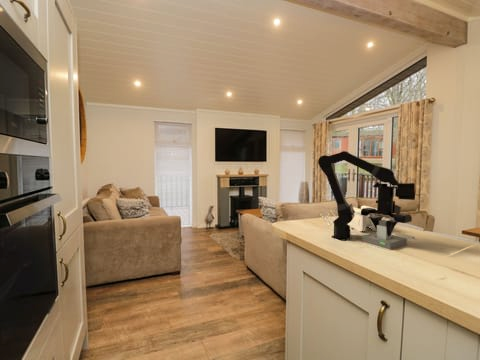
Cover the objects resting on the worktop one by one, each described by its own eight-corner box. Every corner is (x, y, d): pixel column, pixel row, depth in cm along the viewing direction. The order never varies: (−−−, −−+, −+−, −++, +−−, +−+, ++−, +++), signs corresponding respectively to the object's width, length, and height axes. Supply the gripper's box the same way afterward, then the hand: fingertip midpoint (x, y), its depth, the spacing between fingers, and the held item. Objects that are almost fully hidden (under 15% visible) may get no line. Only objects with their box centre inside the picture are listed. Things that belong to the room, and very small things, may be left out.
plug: (376, 238, 109) (377, 220, 108) (382, 237, 111) (382, 219, 110) (385, 241, 105) (386, 222, 105) (391, 239, 107) (391, 221, 107)
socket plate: (361, 242, 110) (362, 235, 110) (378, 238, 116) (378, 231, 116) (389, 250, 100) (390, 243, 100) (406, 245, 106) (406, 238, 106)
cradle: (386, 238, 116) (386, 234, 116) (396, 235, 120) (396, 232, 120) (405, 243, 109) (405, 239, 109) (415, 240, 113) (415, 236, 113)
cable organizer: (381, 233, 124) (382, 209, 124) (361, 234, 123) (361, 210, 122) (363, 225, 139) (363, 204, 138) (344, 226, 138) (345, 205, 137)
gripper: (419, 199, 103) (418, 237, 104) (375, 194, 119) (374, 227, 120) (404, 201, 97) (403, 241, 98) (360, 196, 113) (359, 230, 115)
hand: (384, 234), depth 108 cm, fingers closed on plug, 4 cm apart
